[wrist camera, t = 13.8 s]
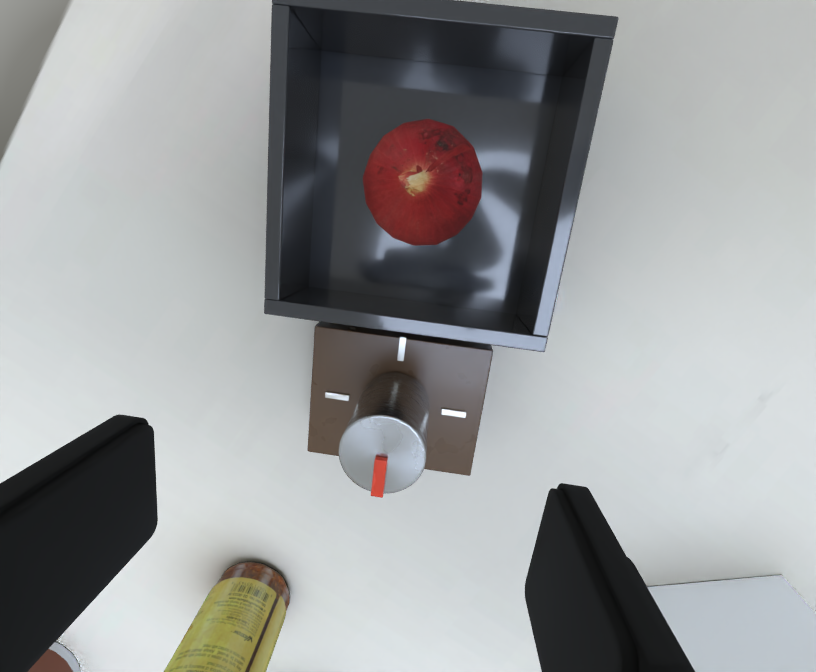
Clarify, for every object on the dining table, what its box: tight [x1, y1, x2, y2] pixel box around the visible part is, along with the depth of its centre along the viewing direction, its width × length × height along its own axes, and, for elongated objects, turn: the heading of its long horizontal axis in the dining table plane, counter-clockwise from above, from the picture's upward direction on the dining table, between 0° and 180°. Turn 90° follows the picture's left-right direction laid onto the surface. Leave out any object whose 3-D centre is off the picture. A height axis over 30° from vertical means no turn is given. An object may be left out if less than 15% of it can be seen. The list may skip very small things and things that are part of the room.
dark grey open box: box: [264, 0, 618, 352], centre depth 22 cm, size 15×15×6 cm
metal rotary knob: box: [339, 372, 430, 497], centre depth 21 cm, size 4×4×6 cm
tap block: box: [308, 322, 493, 476], centre depth 26 cm, size 8×10×5 cm
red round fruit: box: [363, 119, 482, 246], centre depth 20 cm, size 6×6×8 cm
